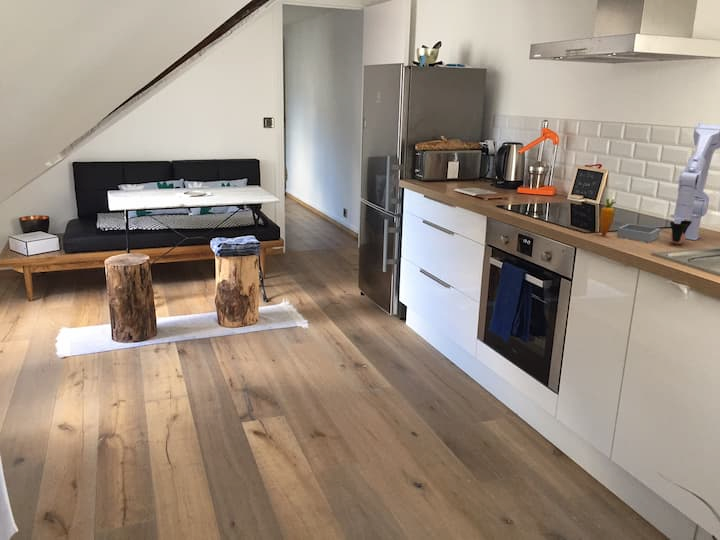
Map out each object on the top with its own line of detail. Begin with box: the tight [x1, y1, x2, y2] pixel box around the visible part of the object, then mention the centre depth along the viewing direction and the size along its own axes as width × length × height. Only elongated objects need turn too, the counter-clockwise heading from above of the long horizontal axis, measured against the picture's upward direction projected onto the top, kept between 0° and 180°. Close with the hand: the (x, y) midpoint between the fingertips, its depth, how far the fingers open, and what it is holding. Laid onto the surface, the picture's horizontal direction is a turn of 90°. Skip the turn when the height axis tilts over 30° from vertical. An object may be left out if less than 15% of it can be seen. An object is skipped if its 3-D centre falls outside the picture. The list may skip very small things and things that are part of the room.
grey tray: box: [616, 223, 661, 244], centre depth 235 cm, size 14×12×4 cm
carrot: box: [599, 197, 617, 237], centre depth 231 cm, size 5×5×15 cm
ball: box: [670, 233, 686, 245], centre depth 226 cm, size 5×5×5 cm
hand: (677, 240), depth 226 cm, fingers closed on ball, 5 cm apart
